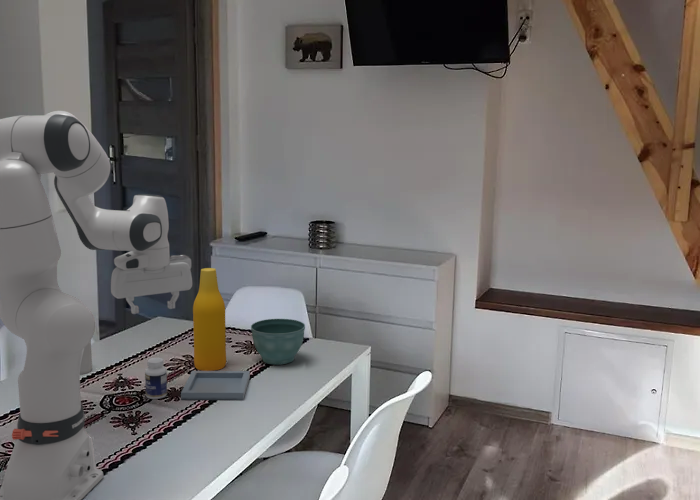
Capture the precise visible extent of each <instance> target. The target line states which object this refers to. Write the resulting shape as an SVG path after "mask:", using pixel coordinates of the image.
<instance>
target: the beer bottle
mask: <svg viewBox="0 0 700 500" xmlns="http://www.w3.org/2000/svg"><path fill="white" fill-rule="evenodd" d="M218 283H219V282H218V277H217V270H216V268H215V267H214V268H213V267H205V268H201V269H200V277H199V288H198V292H197V295H196V297H195V299H194V301H193V305H192V314H193V315H192V316H193V318H192V320H193V324H192V325H193V363H194V367H195V368H196V370H197V371H221V370H222V369H224V368H225V366H226V365H227V350H226V349H227V348H226V347H227V346H226V345H227V343H226V342H227V340H226V339H227V338H226V337H227V335H226V334H227V333H226V306H225V301H224V298H223V296H222V295H221V293H220V290H219V284H218Z"/></svg>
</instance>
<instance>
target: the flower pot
mask: <svg viewBox="0 0 700 500" xmlns="http://www.w3.org/2000/svg"><path fill="white" fill-rule="evenodd" d="M250 330H251V336H252V341H253V345H254V347H255V349H256V351H257V352H258V354H259V355H260V356H261V359H262V362H263V363H265V364H269V365H275V366H277V365H286V364H290V363H292V362H293V361H294V360H295V357H296V355H297V354H298V352H299V350H300V348H301V347H302V344H303V341H304V337H305V330H306V324H305V323H304V322H303V321H300V320H298V319H297V320H296V319H291V318H268V319H261V320H258V321H255V322H254V323H252V324H251V325H250Z"/></svg>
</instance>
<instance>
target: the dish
mask: <svg viewBox="0 0 700 500" xmlns="http://www.w3.org/2000/svg"><path fill="white" fill-rule="evenodd" d="M250 373H251V372H250V370H216V371H201V370H192V371H191V372H190V375H188V376H189V377H188V379H187V380H186V382H185V384H184V386H183V388H182V389H181V392H180V400H181V401H244V400H245V397H246V393H247V389H248V385H249V383H250V378H251V374H250Z"/></svg>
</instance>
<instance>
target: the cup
mask: <svg viewBox="0 0 700 500" xmlns="http://www.w3.org/2000/svg"><path fill="white" fill-rule="evenodd" d="M92 354H93V353H92V340H91V341H90V342H89V343H88V344H87V345H86V346H85V347H84V351H83V355H82V360H81V365H80V375H86V374H89V373H90V372H91V371H92V370H93V359H92V358H93V357H92V356H93V355H92Z"/></svg>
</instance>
